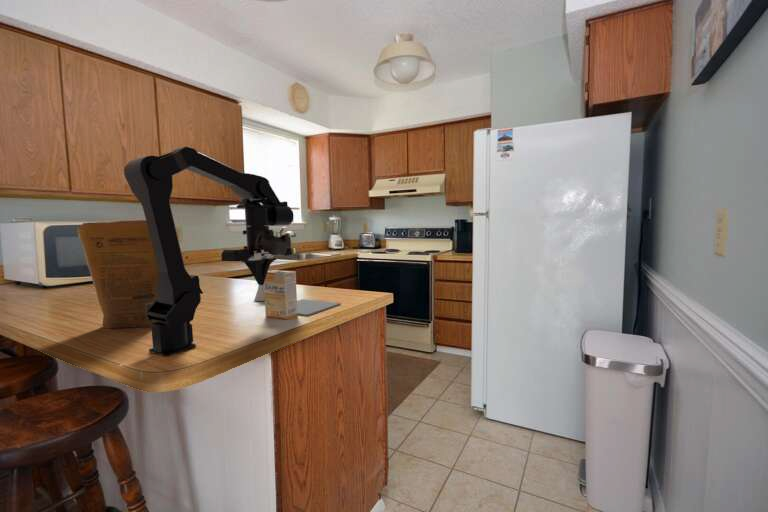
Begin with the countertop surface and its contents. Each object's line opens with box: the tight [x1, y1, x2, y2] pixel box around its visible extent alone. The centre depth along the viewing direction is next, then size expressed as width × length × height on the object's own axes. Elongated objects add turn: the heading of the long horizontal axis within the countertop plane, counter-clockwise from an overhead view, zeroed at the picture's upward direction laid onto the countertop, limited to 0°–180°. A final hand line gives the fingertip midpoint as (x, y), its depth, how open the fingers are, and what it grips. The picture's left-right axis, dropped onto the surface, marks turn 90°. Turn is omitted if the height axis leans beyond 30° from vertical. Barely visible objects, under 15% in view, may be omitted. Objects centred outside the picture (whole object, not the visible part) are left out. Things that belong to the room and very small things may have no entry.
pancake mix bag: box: [77, 219, 159, 330], centre depth 91 cm, size 7×19×28 cm, turn 95°
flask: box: [254, 284, 265, 302], centre depth 122 cm, size 7×7×10 cm
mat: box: [297, 298, 342, 317], centre depth 109 cm, size 16×16×1 cm
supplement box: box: [264, 269, 298, 320], centre depth 98 cm, size 8×5×13 cm, turn 62°
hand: (261, 284), depth 92 cm, fingers closed
